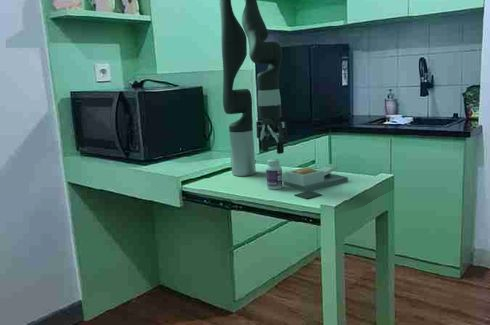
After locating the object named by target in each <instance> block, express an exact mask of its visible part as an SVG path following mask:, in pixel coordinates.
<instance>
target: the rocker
mask: <svg viewBox="0 0 490 325" xmlns="http://www.w3.org/2000/svg"><path fill="white" fill-rule="evenodd" d="M338 169H339V166H338V164H337V165H336V164H333V163H329V164H327V165H325V166H323V167H320V168H319V169H318V170H322V171H324V176H325V175H327V174H329V173H331V174H332V172H334V171H337V170H338Z"/></svg>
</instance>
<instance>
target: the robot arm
mask: <svg viewBox="0 0 490 325" xmlns="http://www.w3.org/2000/svg"><path fill="white" fill-rule="evenodd" d="M218 2H219V12H220V24H221V26H220V28H221V29H220V30H221V32H220V34H221V55H222V56H221V57H222V58H221V59H222V70H223V72H222V73H223V74H222V77H223V78H222V80H223V82H222V105H223V106H222V107H223V110H224V113H225V114H226V115H236V114H237V115H238V114H242V115H241V116H240V118H239V119H237V120H236V121H234V122H232V123H230V124H229V125H228V131H229V141H230V142H229V143H230V152H229V154H230V165H231V174H232V175H233V176H235V177H248V176H252V175H255V174H256V173H257V170H256V168H257V167H256V156H255V155H256V153H255V142H254V141H255V140H254V126H253V124H254V123H253V98H252V93H251V91H250V90H249V89H248V88H239V89H237V88H236V89H233V88H234V83H235V79H236V77H237V74H238V73H239V71H240V70H241V68H242V65H243V64H244V62H245V60H246V58H247V55H248V54H249V58H250V60H251V62H252V63H253V64H255V65H268V66H267V69H266V70H264V71H261V72H258V74H256V75H257V76H256V84H257V85H256V87H257V109H258V118H259V120H258V121H257V120H256V124H255V125H256V127H255V128H256V138H257V139H259V140H260V142H261V144H260V145H261V151H262V152H263V153H264V152H268V151H269V140H268V139H269V136H272V137H273V138H274V139H275V141H276V144H275V145H276V153H277V154H278V155H280V154H283V153H284V150H285V148H284V142H285V141H287V140H288V139H289V138H288V136H289V135H288V127H287V122H286V121H280V118H282V117H283V116H282V102H281V99H282V98H281V94H280V92H281V91H280V86H279V85H280V83H279V75H280V70H281V69H280V68H281V63H282V59H283V49H282V46H281V45H280V43H279V42H278V41H266V40H267V39H268V37H269V31H268V28H267V26H266V24H265V21H264V20H263V17H262V14H261V11H260V9H259V5H258V0H244V3H245V5H244V8H243V11H242V14H241V24H242V25H241V24H240V22H239V20H238V19H237V18H236V16H235V13H234V10H233V6H232V0H218ZM247 41H248V42H247ZM247 43H248V45H247ZM248 49H249V50H248ZM248 52H249V53H248Z"/></svg>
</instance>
